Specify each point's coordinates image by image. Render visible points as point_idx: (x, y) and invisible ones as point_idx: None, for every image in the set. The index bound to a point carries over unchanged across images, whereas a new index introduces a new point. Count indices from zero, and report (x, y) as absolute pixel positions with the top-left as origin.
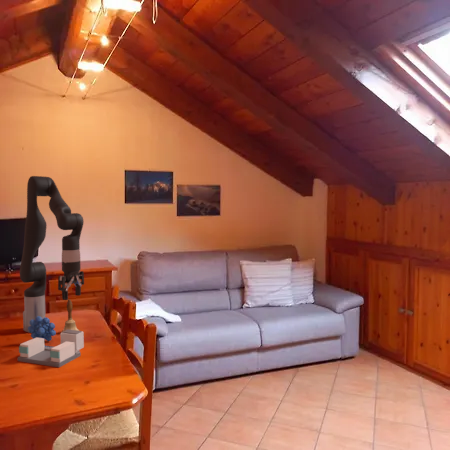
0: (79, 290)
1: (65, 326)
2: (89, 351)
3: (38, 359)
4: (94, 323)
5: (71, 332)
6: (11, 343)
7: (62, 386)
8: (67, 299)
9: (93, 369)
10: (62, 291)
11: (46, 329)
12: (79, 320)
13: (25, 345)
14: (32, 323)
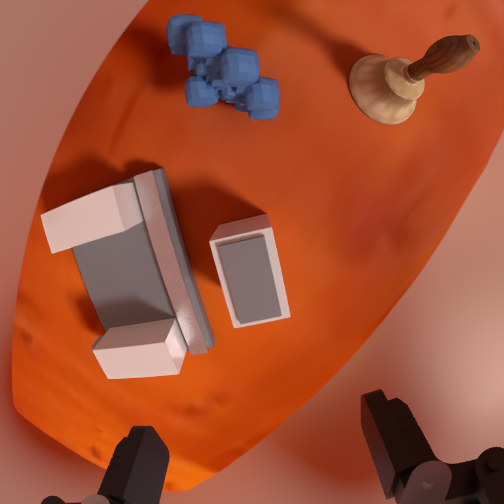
0: (377, 468)
1: (375, 73)
2: (261, 334)
3: (90, 283)
4: (484, 108)
5: (238, 294)
6: (156, 17)
7: (91, 413)
8: (165, 454)
9: (176, 419)
10: (98, 500)
11: (227, 97)
12: None
13: (49, 240)
14: (169, 43)
